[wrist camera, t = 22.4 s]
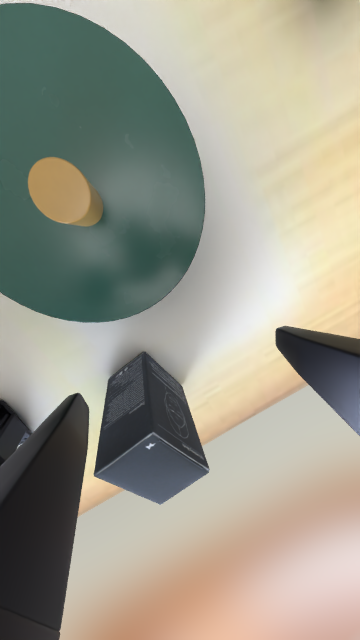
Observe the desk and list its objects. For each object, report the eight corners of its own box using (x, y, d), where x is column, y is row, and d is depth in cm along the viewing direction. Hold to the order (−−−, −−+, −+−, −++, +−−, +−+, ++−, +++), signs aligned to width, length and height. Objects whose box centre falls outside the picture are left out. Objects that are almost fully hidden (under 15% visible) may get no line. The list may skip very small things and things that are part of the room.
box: (107, 378, 23) (90, 478, 14) (144, 349, 23) (153, 431, 13) (150, 411, 27) (160, 508, 17) (183, 386, 26) (212, 472, 17)
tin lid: (27, 342, 17) (-17, 388, 12) (-168, 47, 10) (-503, -161, 4) (214, 287, 19) (245, 307, 14) (172, 5, 11) (205, -179, 6)
